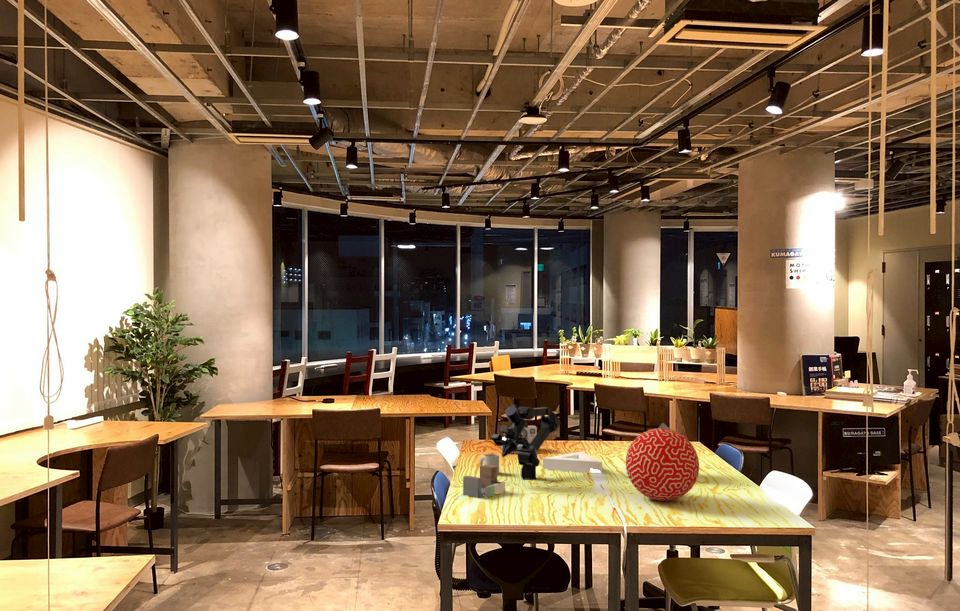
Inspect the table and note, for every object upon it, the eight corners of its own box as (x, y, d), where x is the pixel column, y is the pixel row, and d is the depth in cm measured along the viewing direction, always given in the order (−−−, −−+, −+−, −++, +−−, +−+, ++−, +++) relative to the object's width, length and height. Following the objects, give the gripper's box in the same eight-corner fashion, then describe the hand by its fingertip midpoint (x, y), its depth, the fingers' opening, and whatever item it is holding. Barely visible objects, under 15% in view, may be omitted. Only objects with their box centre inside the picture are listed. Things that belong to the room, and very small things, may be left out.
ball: (620, 491, 317) (620, 423, 317) (688, 491, 316) (688, 423, 316) (632, 508, 287) (632, 433, 287) (708, 509, 286) (707, 434, 286)
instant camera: (501, 454, 405) (501, 428, 405) (501, 448, 425) (501, 422, 426) (538, 454, 404) (538, 428, 404) (537, 448, 424) (537, 423, 425)
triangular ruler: (542, 470, 362) (542, 458, 363) (554, 461, 387) (554, 449, 387) (601, 475, 353) (601, 462, 353) (609, 465, 377) (609, 453, 377)
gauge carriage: (486, 484, 321) (486, 464, 321) (506, 488, 314) (506, 467, 314) (479, 486, 317) (479, 466, 317) (499, 490, 310) (499, 469, 310)
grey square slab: (466, 493, 311) (466, 475, 311) (481, 496, 306) (481, 478, 306) (463, 495, 309) (463, 476, 309) (477, 497, 304) (477, 479, 304)
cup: (497, 475, 349) (497, 457, 349) (477, 474, 351) (477, 456, 352) (500, 472, 356) (500, 454, 356) (481, 471, 358) (481, 453, 359)
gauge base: (486, 487, 323) (486, 478, 323) (506, 491, 316) (506, 481, 316) (466, 493, 311) (466, 483, 311) (486, 497, 304) (486, 487, 304)
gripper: (493, 416, 336) (479, 443, 327) (526, 420, 325) (512, 447, 316) (503, 431, 342) (489, 458, 333) (535, 435, 331) (522, 463, 322)
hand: (502, 456), depth 326 cm, fingers closed
